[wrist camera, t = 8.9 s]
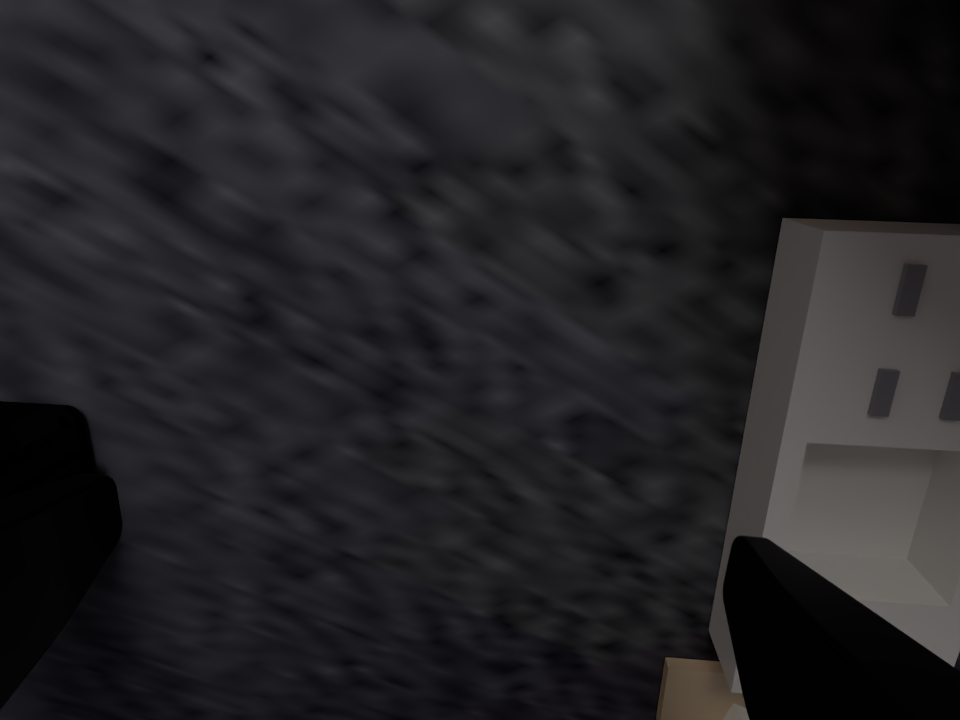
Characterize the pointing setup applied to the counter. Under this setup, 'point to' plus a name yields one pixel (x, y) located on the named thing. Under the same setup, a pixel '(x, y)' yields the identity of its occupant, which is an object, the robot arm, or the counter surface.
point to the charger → (737, 713)
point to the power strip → (859, 423)
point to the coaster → (695, 691)
